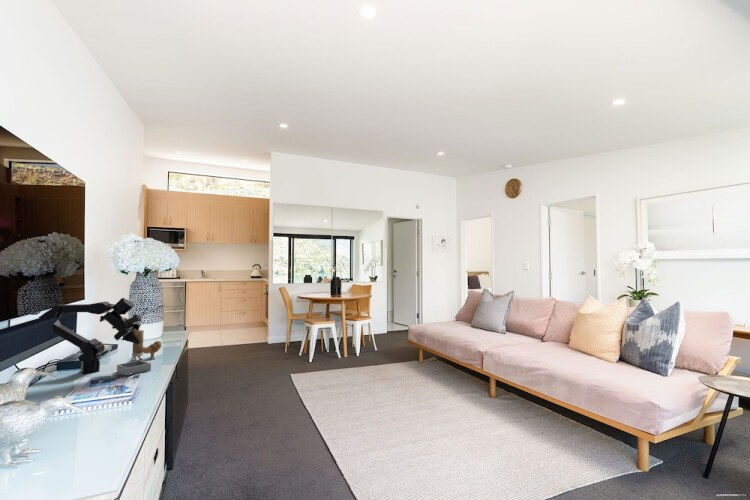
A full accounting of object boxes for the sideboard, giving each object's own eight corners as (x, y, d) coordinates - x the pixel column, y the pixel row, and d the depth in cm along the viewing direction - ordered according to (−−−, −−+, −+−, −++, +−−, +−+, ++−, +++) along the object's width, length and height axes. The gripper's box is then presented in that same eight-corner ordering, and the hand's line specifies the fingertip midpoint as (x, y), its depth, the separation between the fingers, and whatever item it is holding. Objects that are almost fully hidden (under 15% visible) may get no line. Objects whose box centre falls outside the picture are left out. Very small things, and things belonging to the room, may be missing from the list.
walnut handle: (131, 357, 178) (132, 332, 179) (132, 355, 182) (133, 330, 183) (143, 356, 181) (144, 331, 181) (143, 353, 185) (144, 329, 185)
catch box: (126, 375, 170) (126, 368, 171) (116, 371, 176) (117, 364, 177) (150, 370, 179) (150, 363, 179) (140, 366, 185) (141, 359, 186)
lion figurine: (160, 355, 209) (160, 339, 209) (162, 357, 205) (162, 341, 205) (129, 359, 199) (130, 343, 199) (131, 361, 195) (131, 345, 195)
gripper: (122, 312, 172) (147, 334, 175) (137, 307, 190) (160, 327, 193) (103, 329, 170) (128, 351, 172) (120, 322, 188) (142, 342, 190)
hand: (141, 342), depth 182 cm, fingers closed on walnut handle, 4 cm apart
